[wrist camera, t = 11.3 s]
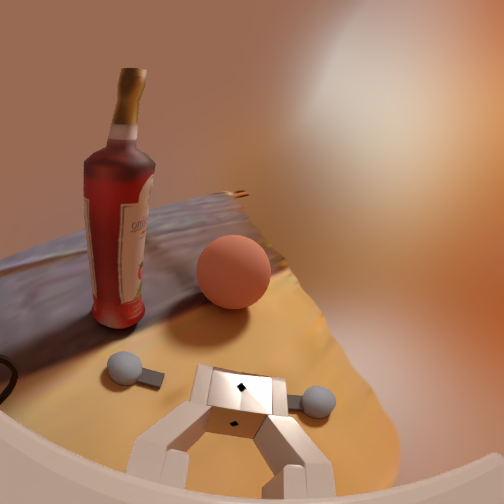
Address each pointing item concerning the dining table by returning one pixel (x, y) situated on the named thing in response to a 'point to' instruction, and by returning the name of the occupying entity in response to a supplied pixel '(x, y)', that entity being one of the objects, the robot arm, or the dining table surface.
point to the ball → (233, 272)
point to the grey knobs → (130, 372)
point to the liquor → (118, 211)
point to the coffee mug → (13, 381)
